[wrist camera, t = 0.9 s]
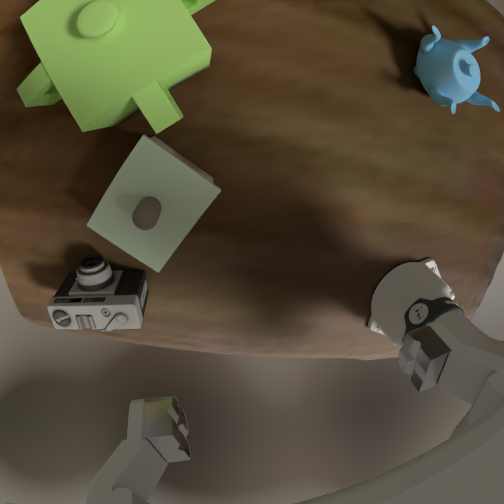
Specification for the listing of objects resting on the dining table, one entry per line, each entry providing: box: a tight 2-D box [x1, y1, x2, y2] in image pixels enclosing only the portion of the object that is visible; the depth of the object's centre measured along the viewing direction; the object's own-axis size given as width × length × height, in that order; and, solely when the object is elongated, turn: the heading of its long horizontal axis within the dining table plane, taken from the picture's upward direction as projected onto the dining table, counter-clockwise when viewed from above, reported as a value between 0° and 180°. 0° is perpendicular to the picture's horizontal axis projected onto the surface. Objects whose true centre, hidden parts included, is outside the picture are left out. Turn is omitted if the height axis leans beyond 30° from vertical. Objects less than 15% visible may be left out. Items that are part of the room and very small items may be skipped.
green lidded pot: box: [17, 0, 214, 134], centre depth 25 cm, size 25×23×17 cm
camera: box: [47, 256, 149, 331], centre depth 41 cm, size 14×8×10 cm, turn 89°
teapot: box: [413, 26, 500, 114], centre depth 35 cm, size 13×13×10 cm
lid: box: [87, 134, 221, 273], centre depth 34 cm, size 11×13×4 cm
